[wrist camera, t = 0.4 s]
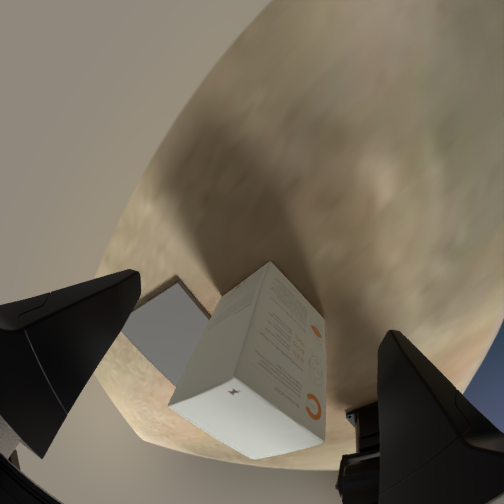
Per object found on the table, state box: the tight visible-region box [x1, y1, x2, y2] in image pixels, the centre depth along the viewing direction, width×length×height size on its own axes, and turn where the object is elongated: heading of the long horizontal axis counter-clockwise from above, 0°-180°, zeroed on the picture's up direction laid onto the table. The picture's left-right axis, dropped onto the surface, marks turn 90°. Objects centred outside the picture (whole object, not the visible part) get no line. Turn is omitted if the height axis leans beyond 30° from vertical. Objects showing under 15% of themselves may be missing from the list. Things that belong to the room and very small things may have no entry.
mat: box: [121, 280, 211, 387], centre depth 30 cm, size 14×12×1 cm
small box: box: [168, 261, 326, 460], centre depth 20 cm, size 8×6×13 cm
